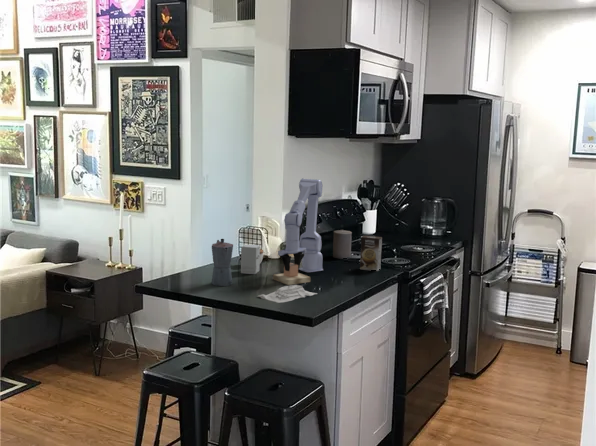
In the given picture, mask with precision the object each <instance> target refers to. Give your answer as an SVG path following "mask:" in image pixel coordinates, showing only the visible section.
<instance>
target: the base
mask: <svg viewBox="0 0 596 446" xmlns="http://www.w3.org/2000/svg"><path fill="white" fill-rule="evenodd" d="M272 279H273V280H274V281H277V282H279V283H282V284H284V285H285V286H290V285H299V284H304V283H311V276H310V275H309V276H308V275H307V274H303V273H300V272H298V276H294V277H288V276H285V275H284V272H282V273H275V274H273V275H272Z"/></svg>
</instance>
